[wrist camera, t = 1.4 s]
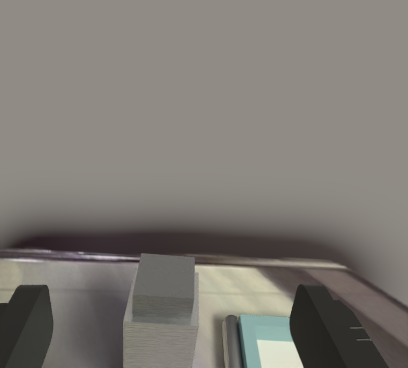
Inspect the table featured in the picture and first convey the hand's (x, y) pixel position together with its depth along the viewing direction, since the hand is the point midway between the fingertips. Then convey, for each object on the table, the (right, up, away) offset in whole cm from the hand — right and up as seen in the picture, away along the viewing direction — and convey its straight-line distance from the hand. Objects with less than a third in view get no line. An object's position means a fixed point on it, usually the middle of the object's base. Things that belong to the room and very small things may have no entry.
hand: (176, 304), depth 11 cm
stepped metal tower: (-3, -13, +18) cm, 23 cm away
